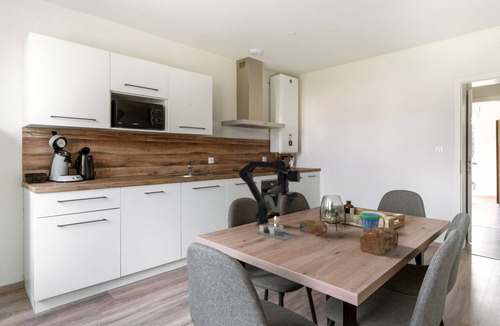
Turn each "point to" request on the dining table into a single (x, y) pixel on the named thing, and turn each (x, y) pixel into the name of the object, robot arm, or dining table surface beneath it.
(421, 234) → the dining table surface
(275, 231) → the jaw
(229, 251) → the dining table surface
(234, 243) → the dining table surface
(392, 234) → the bread
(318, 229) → the tin
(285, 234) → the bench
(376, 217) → the snack cup
